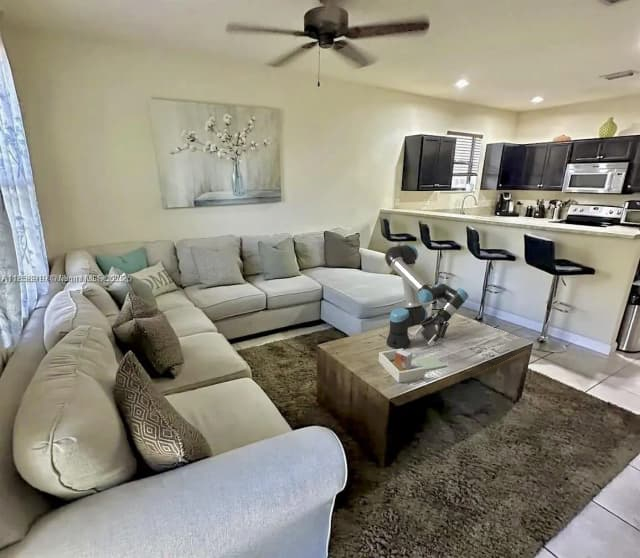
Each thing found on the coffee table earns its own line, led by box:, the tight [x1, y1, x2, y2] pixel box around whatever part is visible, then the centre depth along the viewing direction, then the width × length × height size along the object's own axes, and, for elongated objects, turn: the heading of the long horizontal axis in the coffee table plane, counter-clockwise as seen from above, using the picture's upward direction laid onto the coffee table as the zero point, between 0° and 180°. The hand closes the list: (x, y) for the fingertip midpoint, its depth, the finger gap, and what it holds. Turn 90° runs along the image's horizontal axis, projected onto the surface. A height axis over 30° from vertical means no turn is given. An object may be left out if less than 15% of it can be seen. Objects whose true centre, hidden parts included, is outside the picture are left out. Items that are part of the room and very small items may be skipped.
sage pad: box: [413, 355, 447, 372], centre depth 209 cm, size 12×14×1 cm
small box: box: [393, 349, 413, 371], centre depth 203 cm, size 8×6×10 cm
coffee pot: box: [420, 316, 437, 339], centre depth 239 cm, size 21×12×15 cm, turn 20°
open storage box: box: [378, 348, 426, 384], centre depth 203 cm, size 24×16×6 cm, turn 17°
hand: (422, 340), depth 203 cm, fingers open, 13 cm apart
